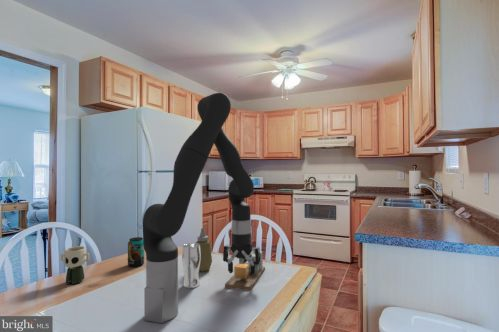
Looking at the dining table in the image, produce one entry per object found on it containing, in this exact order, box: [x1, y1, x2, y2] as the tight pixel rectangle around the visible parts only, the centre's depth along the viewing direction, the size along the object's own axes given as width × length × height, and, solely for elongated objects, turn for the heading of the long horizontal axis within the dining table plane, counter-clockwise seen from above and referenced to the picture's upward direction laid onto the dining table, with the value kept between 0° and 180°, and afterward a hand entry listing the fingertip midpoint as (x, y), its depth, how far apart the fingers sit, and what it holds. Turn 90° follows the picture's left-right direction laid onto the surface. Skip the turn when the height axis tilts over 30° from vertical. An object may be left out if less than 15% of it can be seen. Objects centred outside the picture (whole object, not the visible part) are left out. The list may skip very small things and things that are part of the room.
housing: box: [224, 250, 266, 291], centre depth 115 cm, size 22×10×8 cm, turn 163°
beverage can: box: [127, 236, 145, 268], centre depth 130 cm, size 7×7×12 cm
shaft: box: [233, 260, 251, 279], centre depth 117 cm, size 22×4×4 cm, turn 163°
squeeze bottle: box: [195, 227, 213, 272], centre depth 124 cm, size 8×8×18 cm
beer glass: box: [181, 242, 201, 289], centre depth 108 cm, size 7×7×15 cm
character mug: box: [60, 245, 90, 285], centre depth 111 cm, size 11×7×13 cm, turn 91°
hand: (241, 273), depth 109 cm, fingers open, 8 cm apart
